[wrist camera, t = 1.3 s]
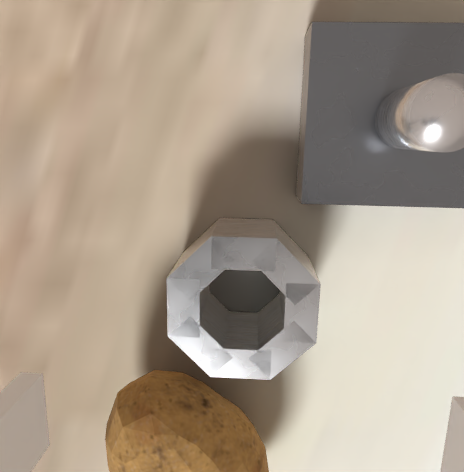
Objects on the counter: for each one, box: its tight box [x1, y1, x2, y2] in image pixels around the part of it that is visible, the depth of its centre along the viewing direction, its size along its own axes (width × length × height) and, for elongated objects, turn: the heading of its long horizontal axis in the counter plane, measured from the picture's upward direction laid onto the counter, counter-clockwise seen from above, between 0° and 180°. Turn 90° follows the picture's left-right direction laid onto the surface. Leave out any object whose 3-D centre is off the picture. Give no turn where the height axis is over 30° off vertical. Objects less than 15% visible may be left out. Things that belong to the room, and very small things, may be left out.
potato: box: [105, 370, 269, 472], centre depth 26 cm, size 10×14×8 cm
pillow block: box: [296, 22, 464, 208], centre depth 20 cm, size 10×9×8 cm
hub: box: [167, 218, 320, 380], centre depth 24 cm, size 8×8×5 cm
